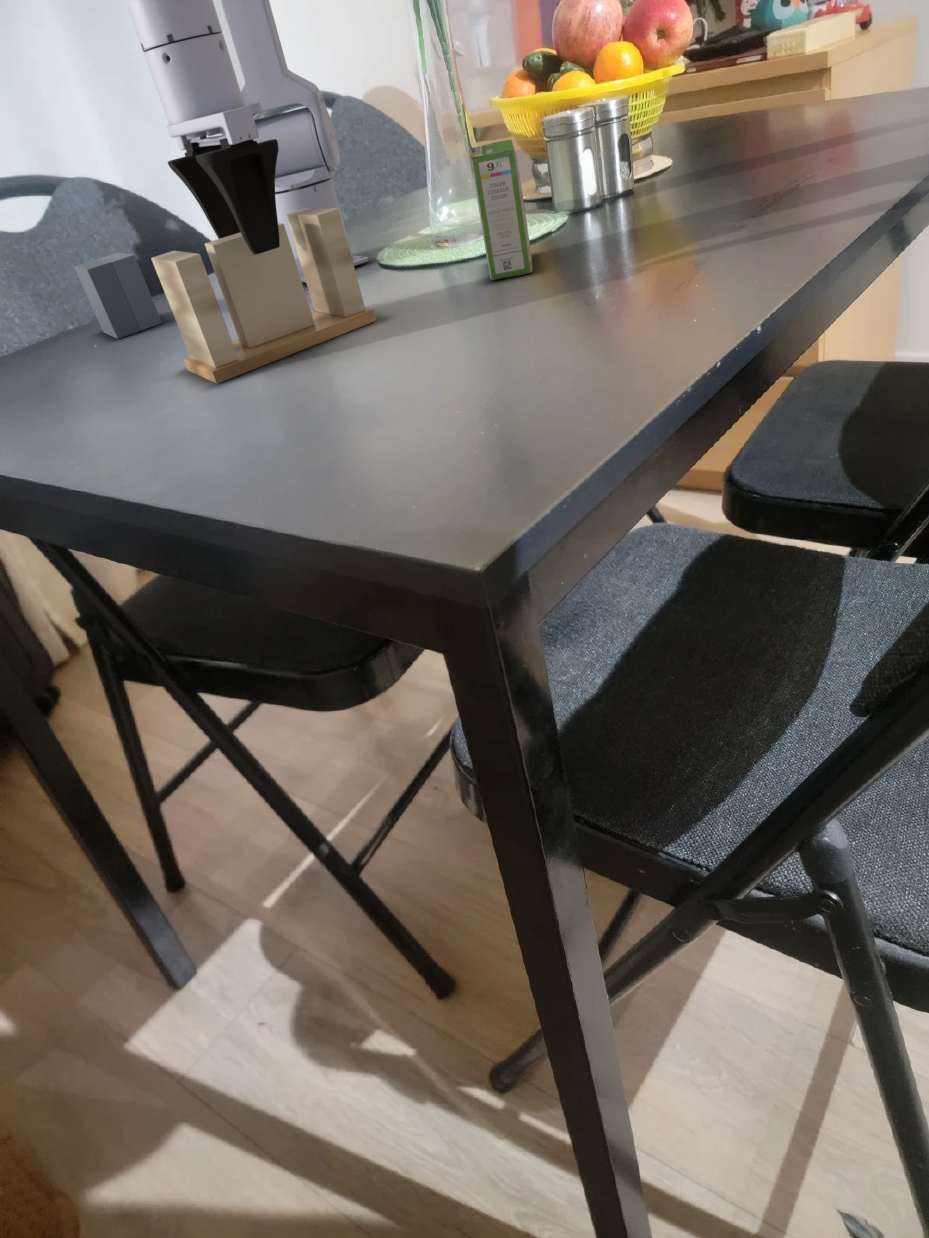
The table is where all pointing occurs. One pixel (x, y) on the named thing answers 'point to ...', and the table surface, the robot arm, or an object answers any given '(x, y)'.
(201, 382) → the table surface
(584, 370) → the table surface
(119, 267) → the grey books
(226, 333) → the book rack
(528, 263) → the ink box
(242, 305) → the cream book
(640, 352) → the table surface
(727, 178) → the table surface
